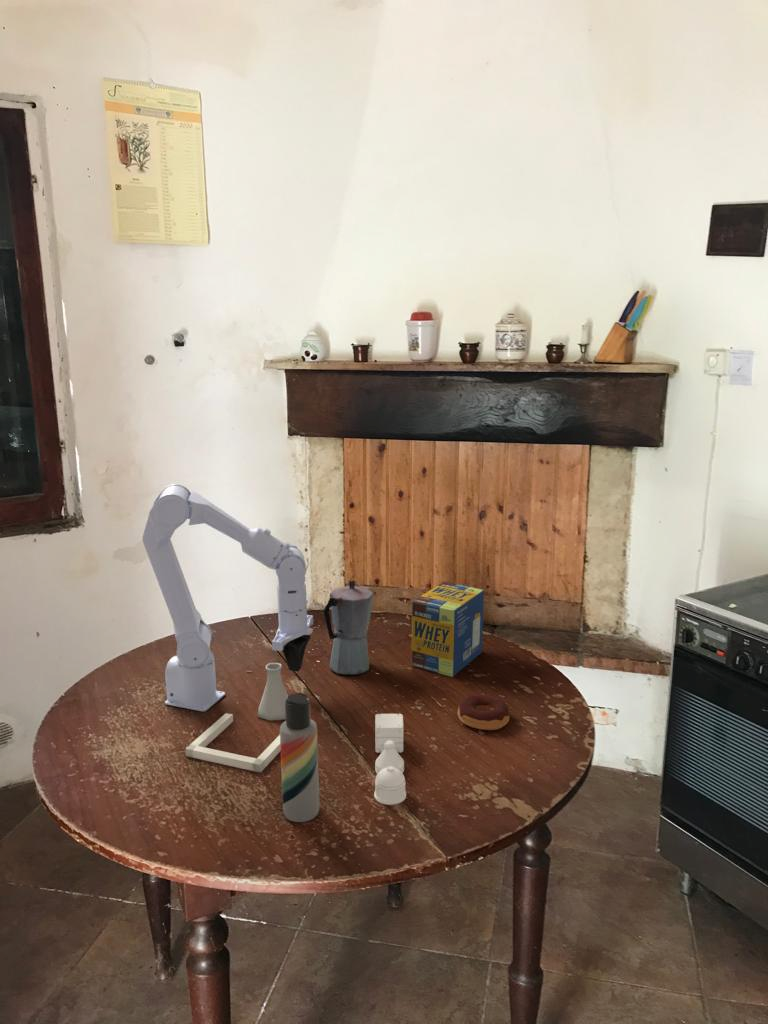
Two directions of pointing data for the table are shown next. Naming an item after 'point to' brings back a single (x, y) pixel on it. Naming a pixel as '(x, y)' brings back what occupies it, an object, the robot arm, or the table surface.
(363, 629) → the moka pot
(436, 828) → the table surface
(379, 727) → the container set
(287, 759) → the lotion bottle
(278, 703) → the flask
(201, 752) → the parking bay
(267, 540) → the robot arm
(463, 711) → the donut
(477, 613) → the protein box
